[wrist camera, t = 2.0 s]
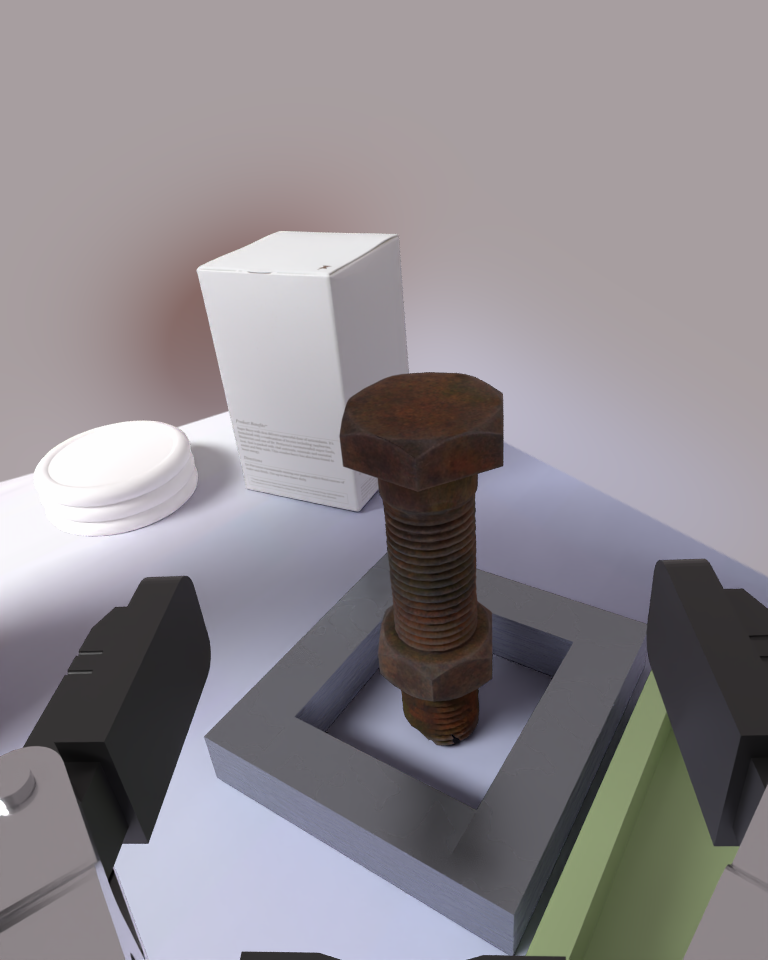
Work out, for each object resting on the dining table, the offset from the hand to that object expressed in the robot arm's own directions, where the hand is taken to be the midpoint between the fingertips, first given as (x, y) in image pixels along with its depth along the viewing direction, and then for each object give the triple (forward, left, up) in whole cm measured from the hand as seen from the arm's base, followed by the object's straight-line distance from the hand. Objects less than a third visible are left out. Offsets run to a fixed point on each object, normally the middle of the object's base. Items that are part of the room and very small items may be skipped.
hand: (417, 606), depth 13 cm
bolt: (-6, +10, -17) cm, 20 cm away
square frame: (-6, +10, -16) cm, 20 cm away
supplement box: (-23, +25, -17) cm, 38 cm away
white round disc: (-34, +16, -17) cm, 41 cm away
